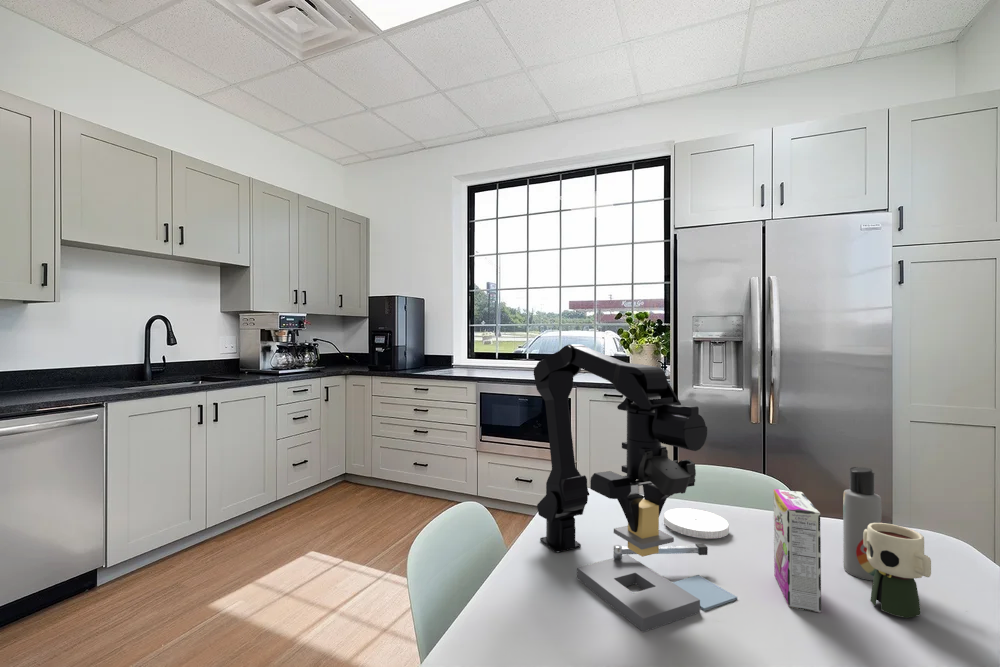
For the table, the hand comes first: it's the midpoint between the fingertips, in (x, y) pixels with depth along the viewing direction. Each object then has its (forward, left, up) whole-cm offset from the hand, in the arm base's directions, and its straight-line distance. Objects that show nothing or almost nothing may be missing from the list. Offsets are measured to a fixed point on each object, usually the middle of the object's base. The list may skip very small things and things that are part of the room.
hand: (643, 529), depth 78 cm
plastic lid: (-16, +32, -12) cm, 37 cm away
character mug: (+21, +35, -11) cm, 42 cm away
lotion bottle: (+12, +44, -11) cm, 47 cm away
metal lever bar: (-5, +9, -9) cm, 14 cm away
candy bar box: (+11, +25, -11) cm, 29 cm away
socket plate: (-1, -1, -11) cm, 11 cm away
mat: (+4, +10, -11) cm, 15 cm away
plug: (0, 0, -4) cm, 4 cm away
